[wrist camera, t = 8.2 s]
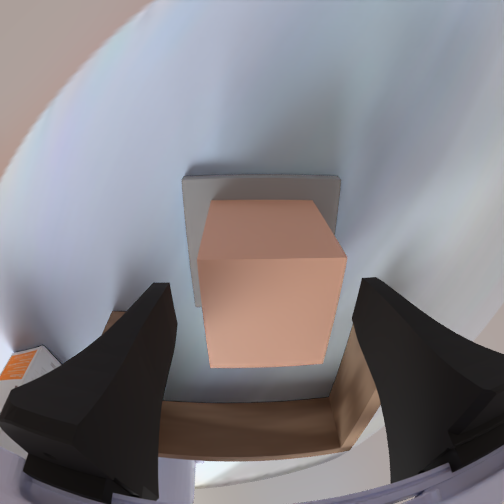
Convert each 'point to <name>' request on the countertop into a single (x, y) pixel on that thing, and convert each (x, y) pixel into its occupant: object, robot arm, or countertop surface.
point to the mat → (251, 188)
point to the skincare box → (23, 382)
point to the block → (268, 283)
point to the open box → (272, 420)
